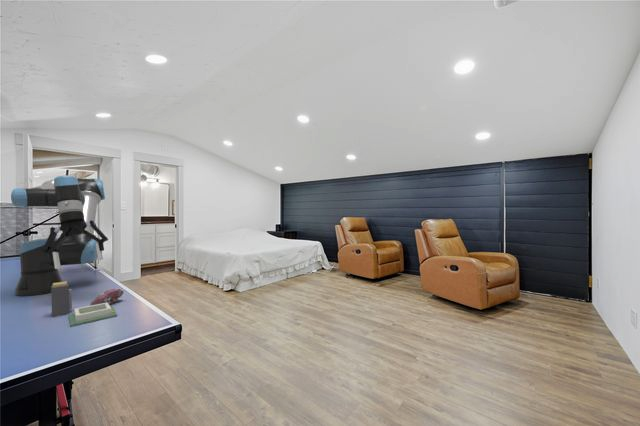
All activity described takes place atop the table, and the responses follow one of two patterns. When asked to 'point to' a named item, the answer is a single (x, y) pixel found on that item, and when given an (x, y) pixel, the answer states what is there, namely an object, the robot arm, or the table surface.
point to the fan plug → (61, 298)
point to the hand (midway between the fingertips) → (79, 264)
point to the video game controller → (108, 296)
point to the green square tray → (91, 314)
